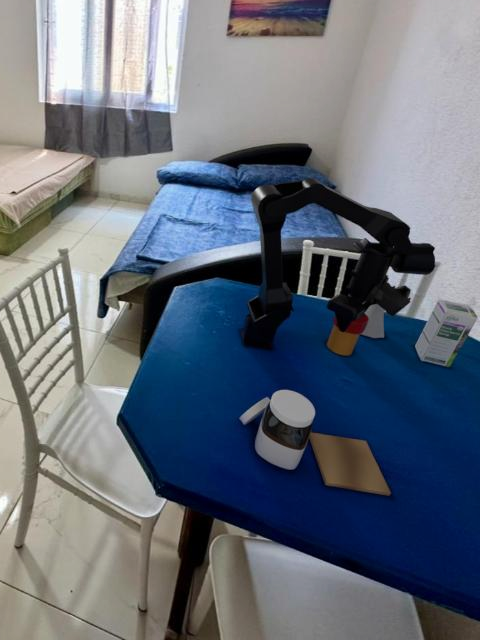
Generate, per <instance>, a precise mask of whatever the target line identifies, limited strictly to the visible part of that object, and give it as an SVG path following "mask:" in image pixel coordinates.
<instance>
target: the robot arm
mask: <svg viewBox="0 0 480 640" xmlns="http://www.w3.org/2000/svg"><path fill="white" fill-rule="evenodd" d="M250 196H251V197H250V202H251V205H252V209H253V213H254V215H255V219H256V221H257V224H258V227H259V240H260V255H261V257H260V258H261V259H260V260H261V274H262V281H261V284H260V285H259V289H258V295H256V296H255V297H253V298H251V299H250V300H247V302H246V307H247V310H248V312H249V313H247V314H246V316H245V319H244V324H243V328H242V327H241V328H240V334H241V338H242V339H241V340H242V343H243V346H244V347H249V348H258V349H264V350H265V349H266V350H272V348H273V345H272V344H273V342H274V339H275V336H276V333H277V330H278V329H279V327H281V325H282V324H283V323H284V322H285V321H286V320H288V319H289V318H290V317H291V314H292V313H291V312H294V311H295V309H294V308H293V301H294V295H293V293H292V292H291V289H290V288H289V286H288V284H287V282H284V277H283V252H282V251H283V249H282V229H283V227H284V225H285V223H286V221H287V220H286V219H287V215H289V214H294V213H297V212H298V211H300V210H301V209H303V208H305V207H307V206H309V205H312V204H316V205H318V206H319V207H321V208H324V209H325V210H327V211H329V212H332V213H333V214H335V215H337V216H339V217H340V218H343V219H345V220H346V221H349V222H350V223H353V224H355V225H356V226H358V227H360V229H362V230H363V231H364V232H366V233H367V234H368V235H369V236H371V237H372V238H373V239H374V240H376V241H377V242H373V241H370V240H369V239H368V238H367V237H364V238H362V239H361V240H358V241H355V242H353V243H352V244H353V247H354V248H355V249H356V250H357V251H358V252H359V253H360V255H359V258H358V260H357V263H356V265H355V268H354V269H352V270H350V273H349V276H351V278H350V282H349V283H348V284H347V285H345V286H344V289H343V291H344V292H346V293H348V296H347V295H345V294H344V293H343V294H342V293H339V294H336V295H334V296H333V297H330V299H328V301H327V303H326V306H325V307H326V309H327V310H328V311H331V312H333V313H334V316H335V315H336V319H337V323H338V328H339V331H341V332H345V331H346V329H347V328H348V326H349V325H350V324H351V322H352V321H356V320H357V319H359V318H361V317H362V316H363V315H364V314H363V313H365V312H366V311H367V309H368V308H369V307H370V306H371V305H374V304H378V305H379V306H380V307H382V308H383V309H384V312H385V313H386V314H387V315H389V316H390V317H395V316H396V315H397V314H398V313H399V312H401V311H402V310H403V309H404V308H405V307H407V306H408V305H409V304H410V303H411V299H412V298H411V297H410V295H411V291H412V289H411V288H410V287H409V286H407V285H401V286H400V285H399V286H395V285H393V286H392V285H391V284H390V283H389V279H390V277H389V275H387V274H388V271H389V269H390V268H391V270H392V272H394V273H397V274H409V275H422V276H427V275H430V274H431V273H432V272H434V270H435V268H436V257H435V254H434V251H435V249H436V247H435V246H434V245H432V244H431V243H430V242H429V243H428V242H420V243H419V242H417V243H416V242H412V241H411V239H410V234H411V226H410V225H408V224H407V223H406V222H405V221H403V220H402V219H401V218H399V217H398V216H397V215H395V214H393V213H392V212H391V211H388V210H384V209H382V208H381V209H380V208H378V207H372V206H371V207H370V206H367V205H364V204H362V203H360V202H358V201H357V200H354V199H353V198H351V197H349V196H346V195H344V194H343V193H341V192H339V191H337V190H335V189H333V188H332V187H330V186H327V185H325V184H324V183H322V182H321V181H319V180H318V179H317V178H314V177H309V178H304V179H301V180H295V181H294V180H293V181H286V182H285V181H283V182H278V183H276V184H272V185H271V184H262V185H260V186H258V187H257V188H255V190H254V191H252V193H251V195H250Z"/></svg>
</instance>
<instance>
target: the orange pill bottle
mask: <svg viewBox="0 0 480 640" xmlns="http://www.w3.org/2000/svg"><path fill="white" fill-rule="evenodd" d="M360 336H361V334H350V333H347V332H341V331H339V328H337V327H336V326H335V324H334V323H333V326H332V329H331V332H330V334H329V337H328V339H327V342H326V347H327V348H328V349H329V350H330V351H331V352H333V353H335V354H337V355H340V356H345V357H347V356H351V355H352V354H353V353H354V350H355V347H356V345H357V343H358V341H359V338H360Z"/></svg>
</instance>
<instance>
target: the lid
mask: <svg viewBox="0 0 480 640" xmlns="http://www.w3.org/2000/svg"><path fill="white" fill-rule="evenodd" d="M363 314H364V315H363V316H362V317H361V318H359V319H357V320H356V321H352V322H351V324H350V325H349V326H348V328H347V329H346V331H345V332H347V333H350V334H360V335H362V334H361V333H363V332H364V331H365V328H366V326H367V324H368V320H369V318H368V316H367V315H366V314H365V313H363ZM334 324H335V326H336V327H337V328H338V323H337V319H336V315H335V314H334V318H333V325H334Z"/></svg>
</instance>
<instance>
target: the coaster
mask: <svg viewBox="0 0 480 640" xmlns="http://www.w3.org/2000/svg"><path fill="white" fill-rule="evenodd" d="M309 441H310V444H311V447H312V450H313V453H314V456H315V460H316V461H317V465H318V467H319V470H320V474H321V476H322V479H323V482H324V485H325V486H328V487H333V488H334V487H335V488H341V489H347V490H352V491H359V492H365V493H371V494H374V495H375V494H376V495H382V496H388V497H389V496H391V494H392V492H391V490H390V488H389V486H388V483H387V481H386V480H385V478H384V475H383V472H382V471H381V468H380V466H379V464H378V462H377V461H376V459H375V457H374V455H373V453H372V450H371V449H370V445H369V444H368V442H367V440H363V439H357V438H356V439H355V438H351V437H343V436H337V435H330V434H323V433H318V432H311V434H310V437H309Z"/></svg>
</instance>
